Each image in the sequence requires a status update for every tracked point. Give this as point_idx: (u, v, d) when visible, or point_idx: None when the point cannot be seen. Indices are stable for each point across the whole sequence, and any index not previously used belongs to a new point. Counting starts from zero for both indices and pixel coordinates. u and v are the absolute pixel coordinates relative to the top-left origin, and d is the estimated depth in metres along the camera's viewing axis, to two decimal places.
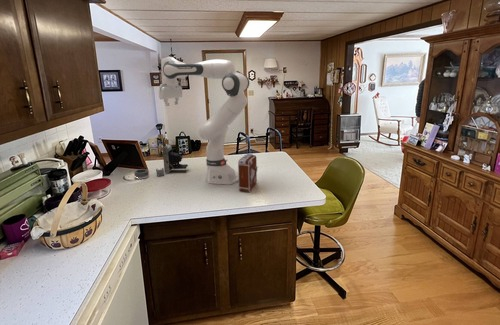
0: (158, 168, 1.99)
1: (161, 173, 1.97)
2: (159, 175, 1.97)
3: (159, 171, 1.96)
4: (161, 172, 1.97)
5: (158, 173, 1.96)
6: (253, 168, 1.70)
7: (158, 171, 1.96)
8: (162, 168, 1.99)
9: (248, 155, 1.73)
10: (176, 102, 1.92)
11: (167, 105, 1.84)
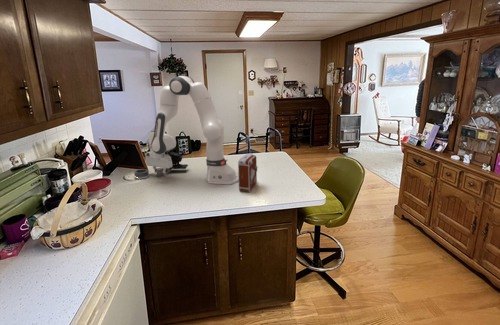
0: (158, 168, 1.99)
1: (161, 173, 1.97)
2: (159, 175, 1.97)
3: (159, 171, 1.96)
4: (161, 172, 1.97)
5: (158, 173, 1.96)
6: (253, 168, 1.70)
7: (158, 171, 1.96)
8: (162, 168, 1.99)
9: (248, 155, 1.73)
10: None
11: (165, 172, 1.98)
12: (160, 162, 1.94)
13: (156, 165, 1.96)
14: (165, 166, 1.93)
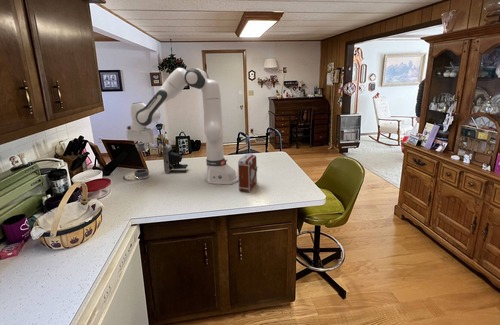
0: (139, 143, 1.92)
1: (142, 148, 1.90)
2: (140, 150, 1.90)
3: (140, 145, 1.89)
4: (142, 147, 1.90)
5: (139, 147, 1.89)
6: (253, 168, 1.70)
7: (139, 145, 1.89)
8: None
9: (248, 155, 1.73)
10: None
11: (146, 147, 1.91)
12: (141, 136, 1.87)
13: (137, 139, 1.89)
14: (146, 140, 1.86)
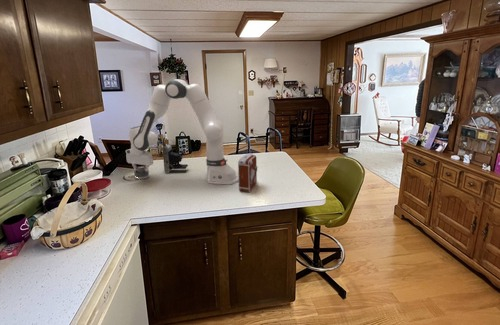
0: (139, 167, 1.96)
1: None
2: None
3: (140, 170, 1.93)
4: (142, 171, 1.94)
5: (139, 172, 1.93)
6: (253, 168, 1.70)
7: (139, 170, 1.93)
8: (143, 167, 1.96)
9: (248, 155, 1.73)
10: None
11: None
12: (141, 159, 1.91)
13: (137, 162, 1.93)
14: (145, 163, 1.90)
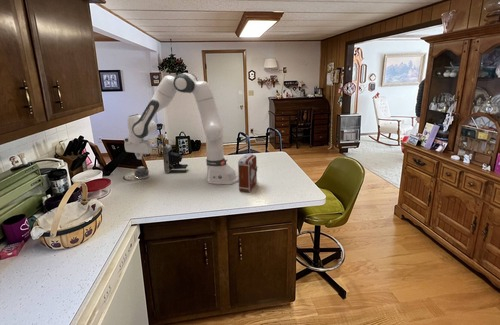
0: (139, 167, 1.96)
1: None
2: None
3: (140, 170, 1.93)
4: (142, 171, 1.94)
5: (139, 172, 1.93)
6: (253, 168, 1.70)
7: (139, 170, 1.93)
8: (143, 167, 1.96)
9: (248, 155, 1.73)
10: None
11: (141, 158, 1.93)
12: (139, 148, 1.88)
13: (135, 151, 1.90)
14: (144, 151, 1.87)
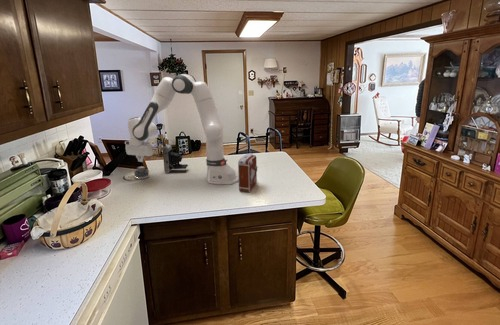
0: (139, 167, 1.96)
1: None
2: None
3: (140, 170, 1.93)
4: (142, 171, 1.94)
5: (139, 172, 1.93)
6: (253, 168, 1.70)
7: (139, 170, 1.93)
8: (143, 167, 1.96)
9: (248, 155, 1.73)
10: None
11: None
12: (140, 150, 1.89)
13: (136, 154, 1.91)
14: (145, 154, 1.88)
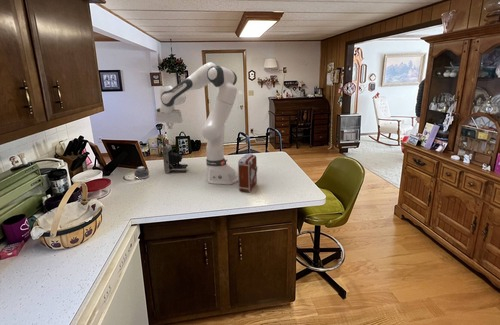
0: (139, 167, 1.96)
1: None
2: None
3: (140, 170, 1.93)
4: (142, 171, 1.94)
5: (139, 172, 1.93)
6: (253, 168, 1.70)
7: (139, 170, 1.93)
8: (143, 167, 1.96)
9: (248, 155, 1.73)
10: None
11: (172, 128, 2.05)
12: (170, 117, 2.00)
13: (166, 121, 2.02)
14: (175, 121, 1.99)
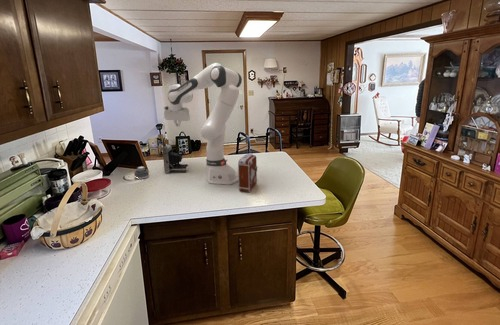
0: (139, 167, 1.96)
1: None
2: None
3: (140, 170, 1.93)
4: (142, 171, 1.94)
5: (139, 172, 1.93)
6: (253, 168, 1.70)
7: (139, 170, 1.93)
8: (143, 167, 1.96)
9: (248, 155, 1.73)
10: (178, 124, 2.09)
11: None
12: (178, 115, 2.04)
13: (174, 118, 2.06)
14: (183, 118, 2.03)
